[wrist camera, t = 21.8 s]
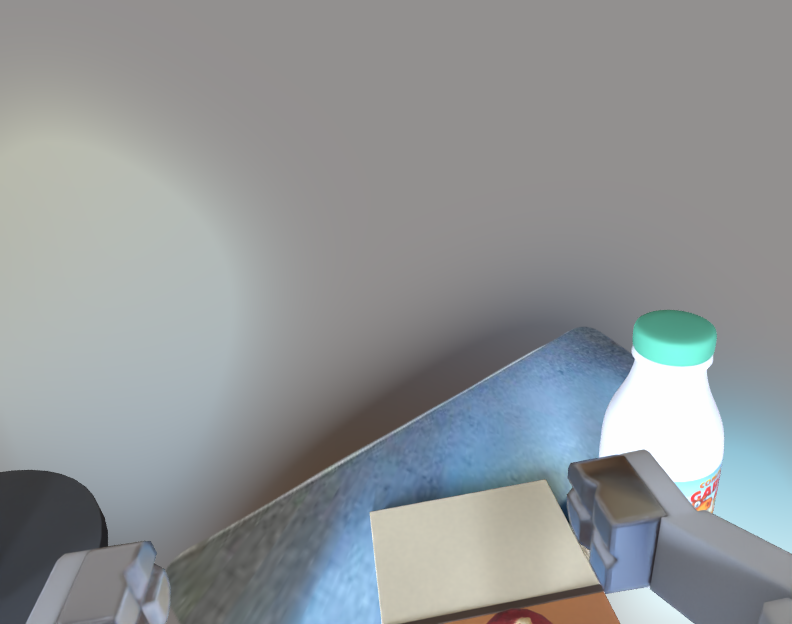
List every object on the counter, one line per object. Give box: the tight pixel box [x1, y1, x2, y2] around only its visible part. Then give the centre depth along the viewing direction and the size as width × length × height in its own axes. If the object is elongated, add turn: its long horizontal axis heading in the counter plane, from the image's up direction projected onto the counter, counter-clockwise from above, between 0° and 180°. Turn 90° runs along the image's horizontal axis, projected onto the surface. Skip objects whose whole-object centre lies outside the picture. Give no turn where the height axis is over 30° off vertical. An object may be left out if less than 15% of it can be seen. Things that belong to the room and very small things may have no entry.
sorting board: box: [370, 479, 620, 624], centre depth 39 cm, size 16×22×1 cm
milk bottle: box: [599, 310, 724, 588], centre depth 38 cm, size 8×8×20 cm
